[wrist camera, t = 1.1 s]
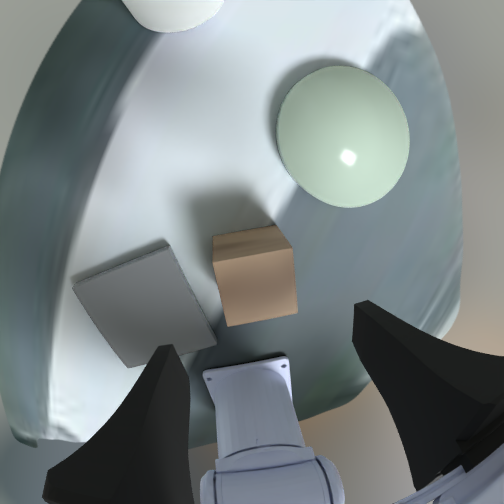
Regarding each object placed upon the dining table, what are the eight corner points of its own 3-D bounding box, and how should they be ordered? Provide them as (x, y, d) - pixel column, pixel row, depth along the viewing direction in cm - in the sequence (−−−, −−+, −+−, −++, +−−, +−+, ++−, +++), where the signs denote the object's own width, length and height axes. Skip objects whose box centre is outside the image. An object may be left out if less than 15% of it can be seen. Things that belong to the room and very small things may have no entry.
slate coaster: (216, 338, 23) (217, 344, 22) (129, 362, 23) (127, 368, 22) (169, 245, 19) (168, 249, 19) (75, 283, 19) (72, 288, 19)
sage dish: (402, 196, 20) (411, 199, 19) (285, 212, 19) (289, 217, 18) (392, 73, 16) (401, 71, 15) (265, 70, 15) (269, 66, 14)
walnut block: (282, 280, 22) (297, 312, 17) (224, 290, 21) (227, 326, 17) (276, 224, 20) (292, 247, 16) (212, 235, 20) (212, 262, 15)
